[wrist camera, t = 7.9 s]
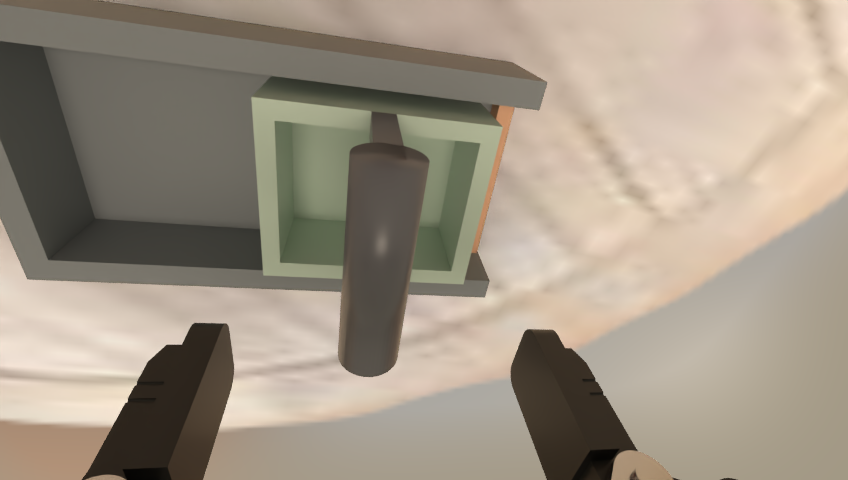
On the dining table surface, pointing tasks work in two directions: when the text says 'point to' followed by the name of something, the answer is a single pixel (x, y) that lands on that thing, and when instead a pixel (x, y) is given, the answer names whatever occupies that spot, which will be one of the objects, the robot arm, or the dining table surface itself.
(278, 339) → the dining table surface
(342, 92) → the box
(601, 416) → the robot arm
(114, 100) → the bay
